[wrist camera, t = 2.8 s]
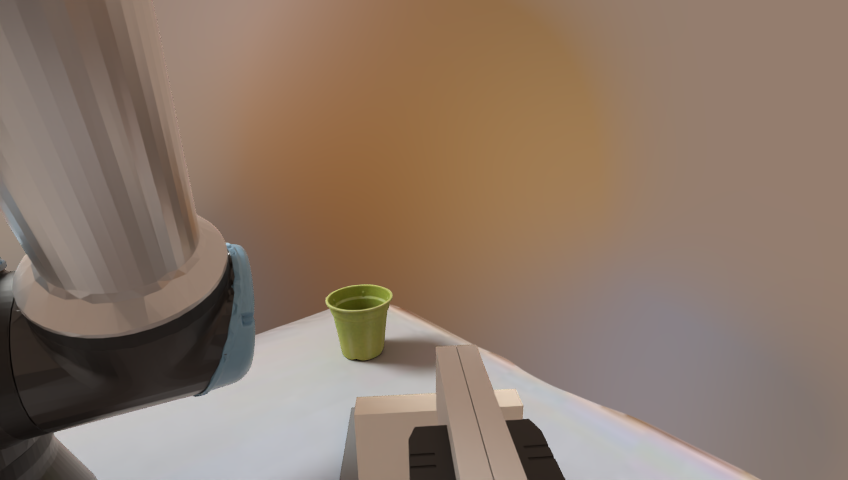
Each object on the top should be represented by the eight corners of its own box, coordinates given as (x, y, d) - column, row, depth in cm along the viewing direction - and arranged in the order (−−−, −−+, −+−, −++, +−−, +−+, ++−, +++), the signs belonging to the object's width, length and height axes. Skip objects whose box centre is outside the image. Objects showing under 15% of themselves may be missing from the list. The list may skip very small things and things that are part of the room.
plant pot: (349, 377, 52) (345, 317, 50) (319, 348, 60) (314, 294, 57) (406, 352, 58) (405, 297, 56) (373, 329, 65) (370, 279, 63)
